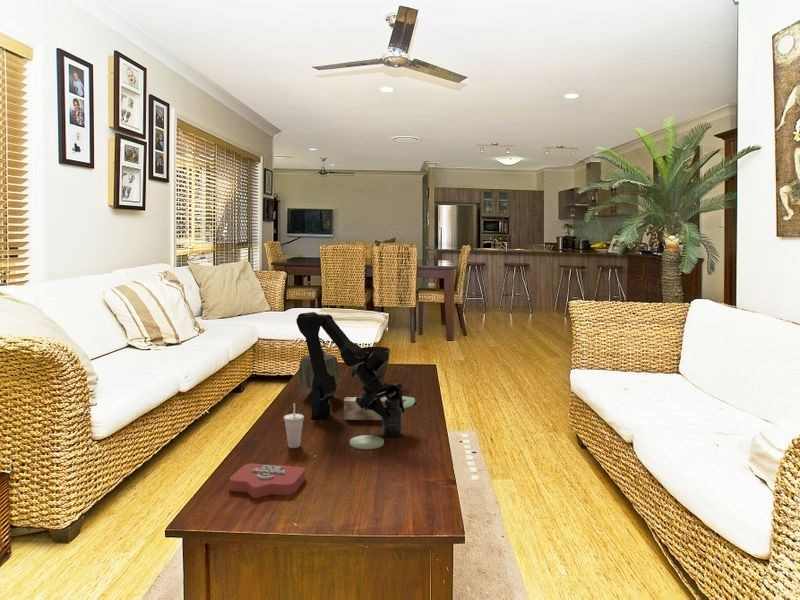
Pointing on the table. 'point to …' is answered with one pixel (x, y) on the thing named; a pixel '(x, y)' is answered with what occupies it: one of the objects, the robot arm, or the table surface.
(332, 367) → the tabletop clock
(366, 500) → the table surface
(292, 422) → the smoothie
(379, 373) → the plant pot
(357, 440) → the green pad
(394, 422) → the supplement bottle
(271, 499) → the table surface
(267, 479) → the plaque
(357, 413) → the block
